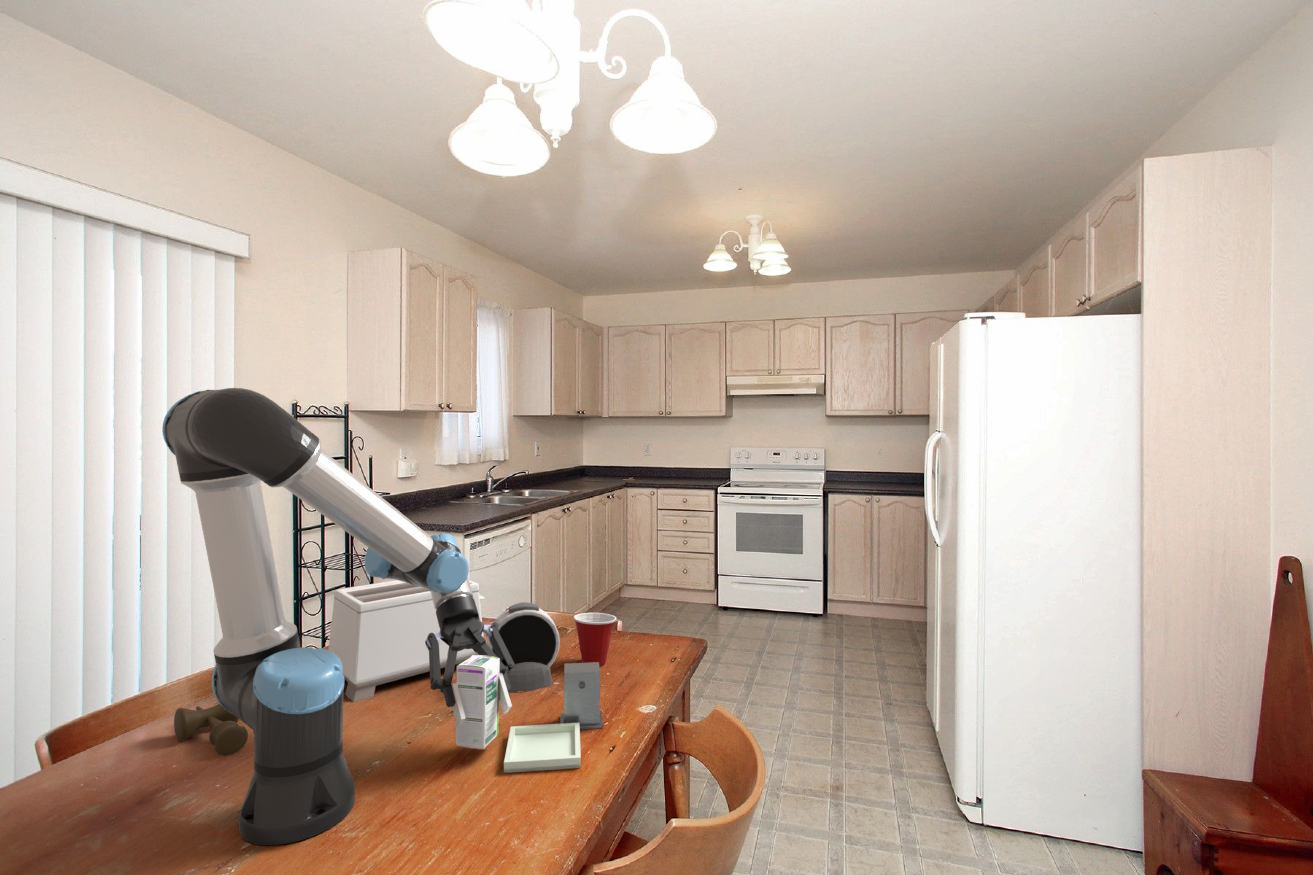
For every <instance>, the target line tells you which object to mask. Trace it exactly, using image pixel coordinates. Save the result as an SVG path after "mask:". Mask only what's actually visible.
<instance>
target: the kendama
mask: <svg viewBox="0 0 1313 875" xmlns="http://www.w3.org/2000/svg"><path fill="white" fill-rule="evenodd" d="M238 721H240V719H238V718H237V717H236V716H235V715H233V714H231V713H230V712H228V711H227V710H225V709H224V708H223V707H222V706H221V705H220V704H219V703H218V704H216V705H214V706H211V707H208V708H203V707H201V706H200V705H199V706H195V709H190V708H189V709H188V708H185V707H179V708H177V709H176V710H175V714H174V718H173V728H174V735H175V737H176V740H177V741H178V742H180V743H183V742H184V741H185V742H186V740H187V739H189V737H191V736H192V735H193V734H195V733H196V732H197V731H199V730H201V729H204V728H207V727H209V729H210V733H209V736H208V740H209V742H210V744H211V745H212V746H214V749H215V750H214V751H215V752H216V754H218V755H219V756H223V757H224V756H225V757H226V756H228V755H230V756H231V755H233V754H235V753H238V752H239V751H240V750H242V749H243V748H244V747H245V746H246V744H247V743H248V738H249V732H248V730H247V729H246V727H245V726H243V725H239V724H238Z"/></svg>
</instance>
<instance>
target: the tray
mask: <svg viewBox="0 0 1313 875" xmlns="http://www.w3.org/2000/svg"><path fill="white" fill-rule="evenodd" d="M581 753H582V752H581V729H580V725H579V723H564V724H560V723H550V724H548V723H547V724H546V723H545V724H534V725H533V724H531V725H515V726H514V725H513V726H512V725H511V726H510V729H509V735H508V739H507V744H506V750H505V756H504V760H503V774H507V773H508V774H510V773H523V772H525V773H526V772H537V771H541V772H542V771H553V770H554V771H555V770H570V769H581V768H582V766H581V764H582V763H581V762H582V757H581V755H582V754H581Z"/></svg>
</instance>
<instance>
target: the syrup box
mask: <svg viewBox="0 0 1313 875" xmlns="http://www.w3.org/2000/svg"><path fill="white" fill-rule="evenodd" d="M499 669H500V659H499V658H498V657H493V656H486V655H472V656H471V657H470V658H469V659H467V660H465V661H464V662H462V663H461V664H460V663H459V664H457V665H456V682H455V683H457V686H458V690H459V694H460V698H461V702H462V706H463V710H464V714H465V718H466V719H465V720H464V722H463V724H462V725H461V726H457V724H456V723H455V744H454V745H455V746H458V747H463V748H470V749H478V750H484V749H486V747H487V746H488V745H489V744H490V743H492V742H493V740H495V738H497V737H498V736H499V734H500V733H499V732H500V731H499V729H500V728H499V727H500V726H499V725H500V724H499V720H500V700H499Z"/></svg>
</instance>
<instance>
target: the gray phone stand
mask: <svg viewBox="0 0 1313 875" xmlns="http://www.w3.org/2000/svg"><path fill="white" fill-rule="evenodd" d="M563 664H564V667H563V669H564V670H563V673H564V674H563V676H564V677H563V680H564V681H563V713H560V717H559V718H560V720H559V724H564V723H579V725H580V730H589V729H590V730H591V729H593V730H595V729H604V719H603V712H602V711H601V702H600V701H601V696H600V695H601V669H600V668H601V667H599V662H592V663H583V662H574V663H573V662H572V663H568V662H567V663H563Z"/></svg>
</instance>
